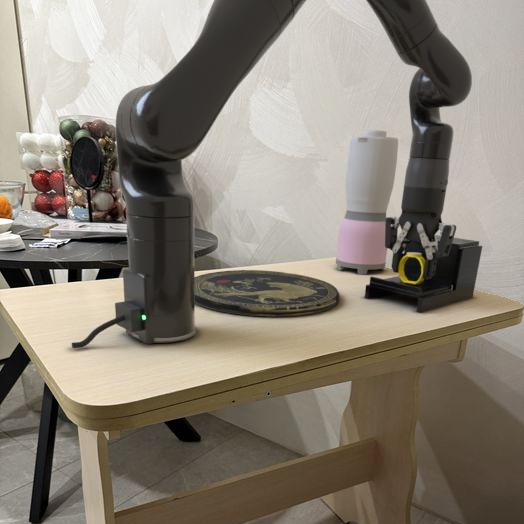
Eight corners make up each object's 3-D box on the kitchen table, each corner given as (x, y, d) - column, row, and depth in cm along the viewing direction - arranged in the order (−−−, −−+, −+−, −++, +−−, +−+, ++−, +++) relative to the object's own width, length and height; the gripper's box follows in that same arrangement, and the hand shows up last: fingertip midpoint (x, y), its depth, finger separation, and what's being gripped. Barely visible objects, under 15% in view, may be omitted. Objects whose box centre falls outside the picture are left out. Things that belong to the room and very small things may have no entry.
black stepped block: (420, 312, 95) (429, 249, 91) (364, 297, 103) (371, 239, 99) (472, 297, 107) (483, 241, 103) (419, 285, 116) (427, 233, 112)
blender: (370, 277, 122) (387, 129, 111) (325, 268, 129) (338, 128, 118) (398, 268, 134) (416, 134, 123) (356, 261, 141) (370, 133, 130)
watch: (427, 286, 100) (432, 255, 98) (418, 287, 98) (423, 256, 96) (403, 279, 105) (407, 250, 102) (393, 281, 103) (398, 250, 101)
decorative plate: (155, 278, 102) (270, 264, 121) (155, 288, 103) (270, 272, 121) (249, 318, 81) (372, 293, 99) (249, 329, 82) (371, 302, 100)
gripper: (380, 182, 98) (370, 270, 103) (451, 188, 88) (435, 285, 94) (403, 182, 102) (391, 267, 108) (472, 187, 93) (455, 280, 98)
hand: (412, 275), depth 101 cm, fingers closed on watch, 6 cm apart
